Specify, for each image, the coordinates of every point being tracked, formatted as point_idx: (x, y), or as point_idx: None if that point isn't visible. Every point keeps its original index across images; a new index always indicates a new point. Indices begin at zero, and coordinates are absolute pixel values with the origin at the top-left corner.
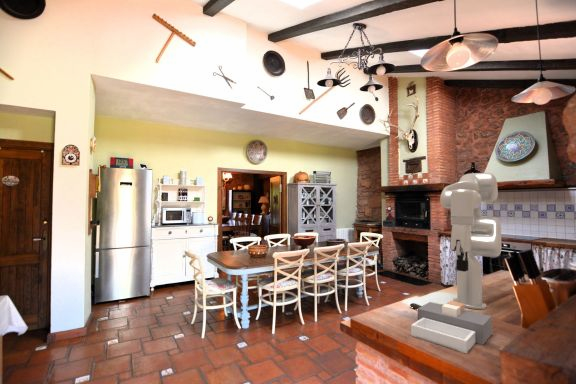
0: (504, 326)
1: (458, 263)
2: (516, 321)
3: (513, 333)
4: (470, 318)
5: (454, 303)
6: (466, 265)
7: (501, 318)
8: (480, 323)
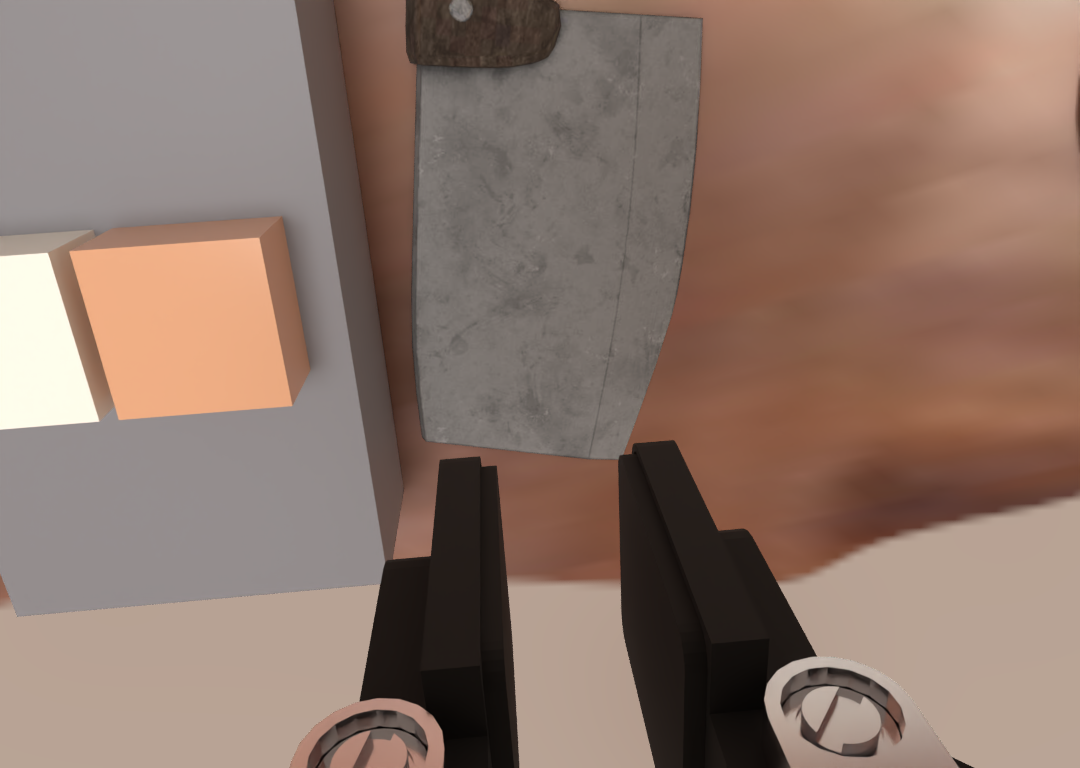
0: (705, 498)
1: (374, 655)
2: (932, 523)
3: (578, 576)
4: (95, 493)
5: (166, 323)
6: (649, 710)
7: (933, 428)
8: (42, 590)
